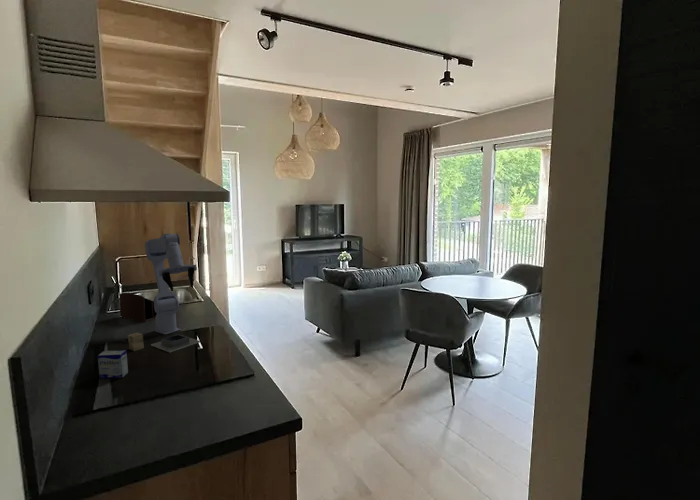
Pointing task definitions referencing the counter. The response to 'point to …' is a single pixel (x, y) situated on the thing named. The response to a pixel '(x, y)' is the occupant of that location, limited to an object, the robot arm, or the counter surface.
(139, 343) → the beige rectangular block
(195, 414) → the counter surface
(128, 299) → the letter holder
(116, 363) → the box
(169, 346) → the socket plate
